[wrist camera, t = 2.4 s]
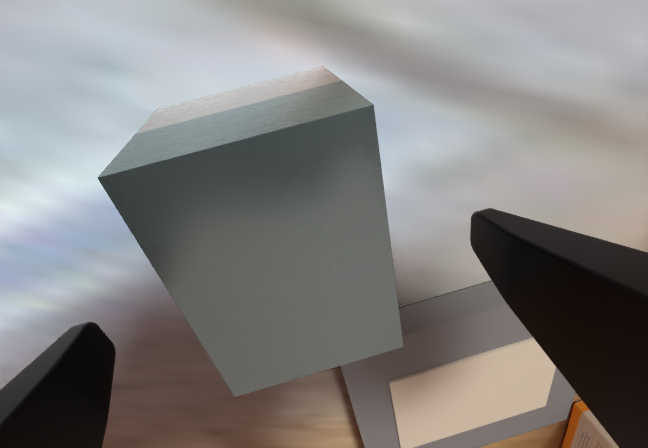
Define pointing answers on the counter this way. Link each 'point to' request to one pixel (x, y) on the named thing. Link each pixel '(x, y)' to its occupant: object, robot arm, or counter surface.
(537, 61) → the counter surface
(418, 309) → the stand
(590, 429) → the supplement box
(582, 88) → the counter surface
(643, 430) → the robot arm
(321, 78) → the block
